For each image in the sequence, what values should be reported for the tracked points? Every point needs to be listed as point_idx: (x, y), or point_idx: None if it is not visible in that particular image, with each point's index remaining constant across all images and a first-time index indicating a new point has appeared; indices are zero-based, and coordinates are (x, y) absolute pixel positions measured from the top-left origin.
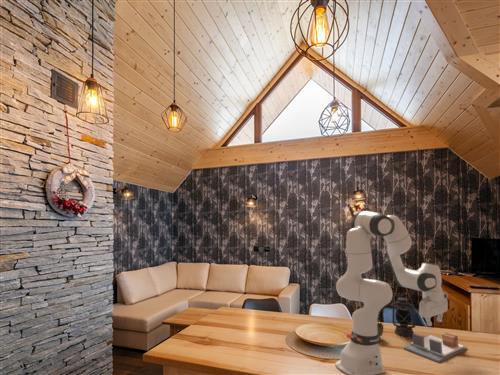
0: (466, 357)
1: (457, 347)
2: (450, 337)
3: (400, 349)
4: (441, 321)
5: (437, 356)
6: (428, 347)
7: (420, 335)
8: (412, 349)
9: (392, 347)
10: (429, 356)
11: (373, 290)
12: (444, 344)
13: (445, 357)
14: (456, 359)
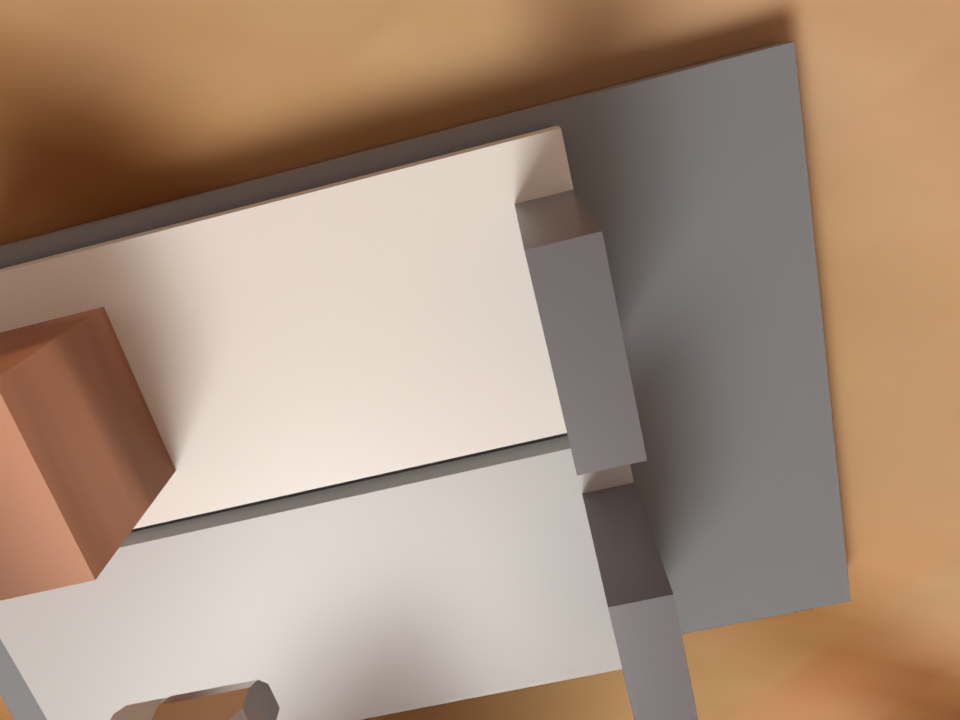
0: (79, 56)
1: (6, 300)
2: (21, 420)
3: (895, 589)
4: (164, 703)
5: (650, 183)
6: (539, 453)
7: (632, 658)
8: (801, 506)
9: (941, 664)
10: (789, 225)
11: None
12: (161, 451)
13: (544, 106)
14: (337, 51)
